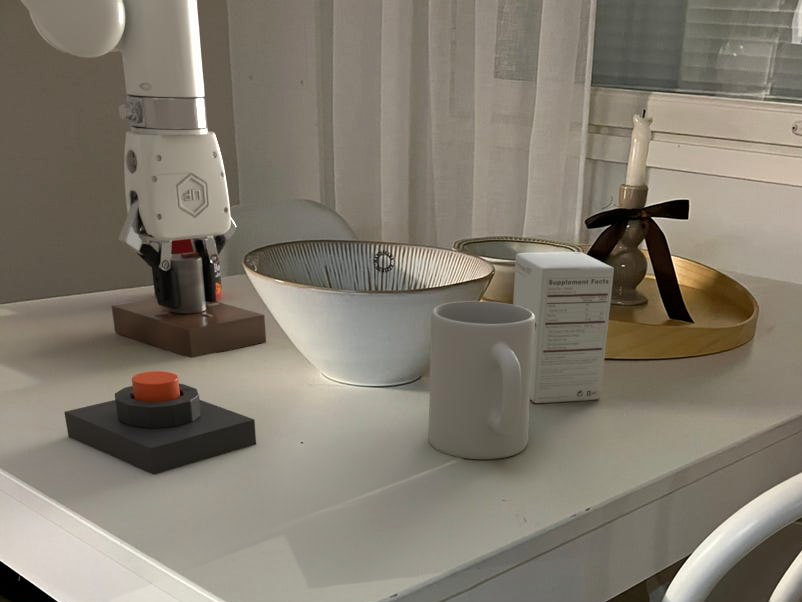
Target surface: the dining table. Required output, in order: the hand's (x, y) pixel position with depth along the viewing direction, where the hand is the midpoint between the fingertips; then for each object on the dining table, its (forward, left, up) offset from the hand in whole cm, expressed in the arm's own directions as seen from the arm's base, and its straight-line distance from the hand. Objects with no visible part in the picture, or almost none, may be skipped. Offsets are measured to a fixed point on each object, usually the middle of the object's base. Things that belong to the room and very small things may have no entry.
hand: (187, 301), depth 112 cm
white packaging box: (+40, +14, -4) cm, 43 cm away
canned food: (-16, +12, -4) cm, 20 cm away
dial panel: (0, 0, -4) cm, 4 cm away
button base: (+26, -22, -4) cm, 34 cm away
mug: (+46, -4, -4) cm, 46 cm away
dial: (0, 0, -1) cm, 1 cm away
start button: (+26, -22, 0) cm, 34 cm away
